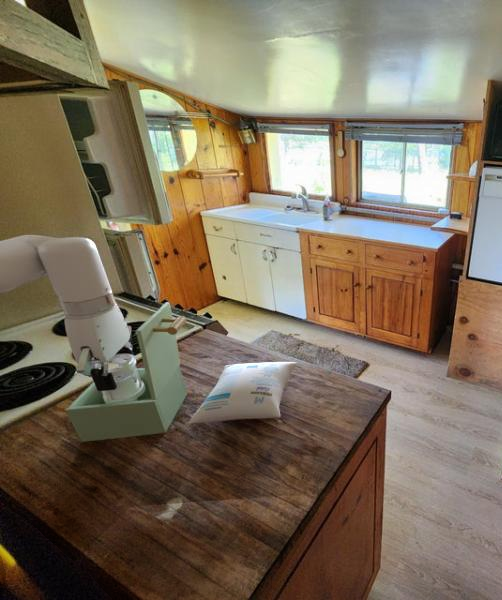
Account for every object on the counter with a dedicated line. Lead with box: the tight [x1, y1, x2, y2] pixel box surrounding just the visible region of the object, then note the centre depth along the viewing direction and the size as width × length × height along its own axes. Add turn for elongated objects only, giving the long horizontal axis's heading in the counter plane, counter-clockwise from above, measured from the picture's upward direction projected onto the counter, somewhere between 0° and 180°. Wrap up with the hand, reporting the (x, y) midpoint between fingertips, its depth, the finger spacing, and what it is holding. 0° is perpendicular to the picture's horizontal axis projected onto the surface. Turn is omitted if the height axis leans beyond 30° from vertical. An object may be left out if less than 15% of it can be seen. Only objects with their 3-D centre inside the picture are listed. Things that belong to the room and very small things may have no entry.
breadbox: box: [65, 366, 188, 443], centre depth 73 cm, size 16×13×9 cm
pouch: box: [187, 361, 298, 424], centre depth 78 cm, size 8×19×20 cm
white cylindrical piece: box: [95, 354, 145, 404], centre depth 71 cm, size 7×7×15 cm
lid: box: [135, 301, 188, 400], centre depth 69 cm, size 16×13×5 cm
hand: (118, 376), depth 70 cm, fingers closed on white cylindrical piece, 7 cm apart
